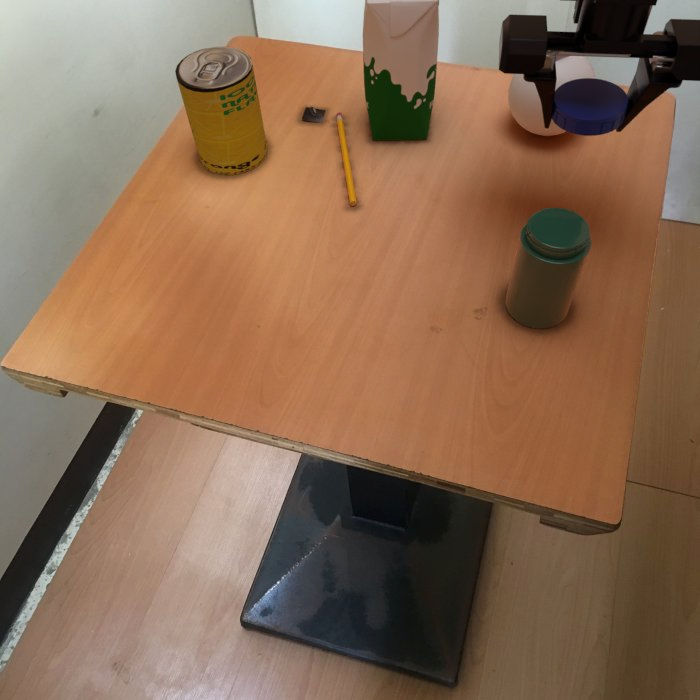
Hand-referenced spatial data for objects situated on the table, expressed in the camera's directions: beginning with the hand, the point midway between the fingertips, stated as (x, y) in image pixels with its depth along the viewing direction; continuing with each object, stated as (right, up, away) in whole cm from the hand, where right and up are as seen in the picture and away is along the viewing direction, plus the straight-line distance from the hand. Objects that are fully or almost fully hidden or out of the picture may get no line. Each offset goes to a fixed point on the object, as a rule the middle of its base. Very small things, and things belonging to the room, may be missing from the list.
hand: (582, 127), depth 65 cm
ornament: (+2, +7, +20) cm, 21 cm away
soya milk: (-17, +8, +21) cm, 28 cm away
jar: (-4, -18, +2) cm, 18 cm away
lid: (0, +1, -3) cm, 3 cm away
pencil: (-24, +2, +17) cm, 30 cm away
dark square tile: (-29, +10, +24) cm, 38 cm away
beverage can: (-39, +3, +19) cm, 44 cm away
